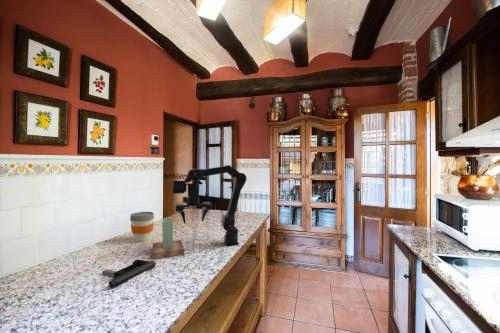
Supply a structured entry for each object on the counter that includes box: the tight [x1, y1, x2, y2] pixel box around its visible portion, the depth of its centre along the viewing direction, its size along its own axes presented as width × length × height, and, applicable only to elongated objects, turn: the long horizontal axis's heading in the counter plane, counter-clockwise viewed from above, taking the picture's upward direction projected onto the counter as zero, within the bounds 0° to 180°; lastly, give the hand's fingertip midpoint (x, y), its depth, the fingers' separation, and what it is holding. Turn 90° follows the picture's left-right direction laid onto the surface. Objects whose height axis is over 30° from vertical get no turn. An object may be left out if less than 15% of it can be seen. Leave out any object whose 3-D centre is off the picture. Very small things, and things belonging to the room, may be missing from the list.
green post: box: [162, 218, 174, 248], centre depth 119 cm, size 4×4×13 cm
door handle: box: [101, 259, 157, 289], centre depth 96 cm, size 3×20×16 cm
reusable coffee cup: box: [129, 211, 155, 243], centre depth 138 cm, size 13×13×15 cm
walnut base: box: [152, 239, 185, 261], centre depth 119 cm, size 14×14×3 cm
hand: (193, 222), depth 125 cm, fingers open, 9 cm apart
